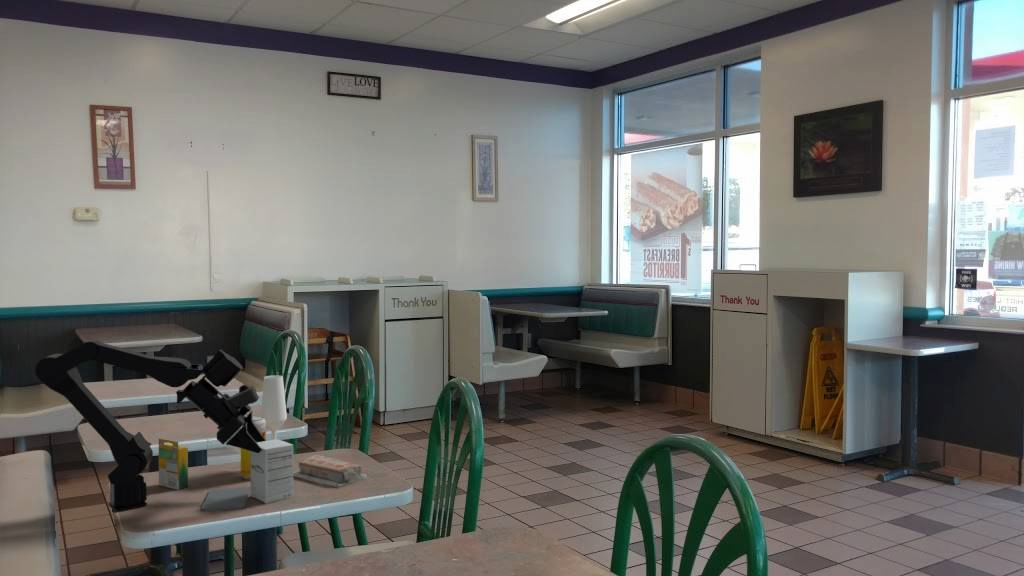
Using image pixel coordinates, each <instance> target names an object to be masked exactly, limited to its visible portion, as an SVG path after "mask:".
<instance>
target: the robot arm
mask: <svg viewBox="0 0 1024 576" xmlns="http://www.w3.org/2000/svg"><path fill="white" fill-rule="evenodd" d="M88 361H94V362H95V361H96V362H100V363H103V364H107V365H110V366H115V367H118V368H122V369H126V370H129V371H133V372H137V373H142V374H145V375H147V376H148V377H151V378H152V379H154V380H155V381H157V382H159V383H161V384H164V385H165V386H168V387H169V388H180V387H182V386H184V385H185V384H186V383H187V382H188V381H190V382H189V383H188V384H187V385H186V386H185V387H184V388H183V389H177V391H175V393H176V404H180V403H181V402H183V401H184V399H187V400H188V401H189V402H190V403H191V404H192V405H194V406H195V407H196V408H197V409H198V410H199V411H201V412H202V413H203V417H204V418H205V419H208V418H209V419H210V420H211V421H212V422H213V423H214V424H216V426H217V427H216V428H217V429H218V430H217V432H216V440H217V441H218V442H219V443H221V444H222V445H226V446H232V447H236V448H238V449H241V448H242V449H246V450H249V451H252V452H256V453H259V452H260V451H261V450H262V449H261V448H260V446H259V445H258V444H257V443H256V441H257V442H263V441H265V439H264V437H263V436H262V434H261V433H260V431H259V430H258V429H257V427H256V426H255V424H254V422H253V421H252V416H253V410H252V407H251V406H250V404H252V405H253V404H254V403H256V402H258V401H259V399H260V397H259V395H258V393H257V390H256V388H254V386H253V385H251V386H249V384H247V383H245V384H243V385H240V386H239V388H238V392H236V393H235V394H233V395H229V394H228V393H222V392H221V391H219V390H218V389H217V388H220V386H221V387H225V388H226V387H227V385H229V383H230V382H232V380H233V379H234V378H235V377H237V376H238V374H240V372H242V370H243V369H244V368H243V365H241V363H240V362H239V361H238V360H237V359H236V358H235V357H234V356H231V355H230V354H228V353H226V352H225V351H224V350H222V349H219V350H218V351H217V352H216V353H215V354H214V355H213V357H212V358H211V359H210V360H209V361H208V362H207V363H206V364H199V363H191V362H190V361H189V360H188V359H185V358H179V357H172V356H171V357H169V356H154V355H153V356H152V355H149V354H145V353H142V352H138V351H134V350H130V349H126V348H123V347H119V346H116V345H112V344H108V343H104V342H101V341H99V340H97V339H91V340H88V341H85V342H83V343H82V344H81V345H79V346H78V347H76V348H74V349H72V350H69V351H68V352H65V353H55V354H54V353H53V354H51V355H48V356H45V357H44V358H42V359H40V360H39V361H38V362H37V363H36V365H35V367H34V368H35V369H34V375H35V377H36V379H37V380H38V381H39V382H40V383H42V384H43V385H45V386H46V387H47V388H48V389H50V390H51V391H54V392H55V393H57V394H58V395H59V394H60V396H63V397H64V399H66V401H68V402H69V403H70V404H71V405H72V406H73V407H74V408H75V410H76V411H77V412H78V413H79V414H80V415H81V416H82V417H83V418H84V419H85V421H86V422H87V423H88V424H89V425H90V427H92V429H94V431H96V432H97V434H98V435H99V436H100V437H101V438H102V439H103V440H104V442H105V443H106V444H107V445H108V447H109V450H110V452H111V454H112V457H113V459H114V461H115V463H116V464H117V465H116V466H115V467H114V468H113V469H112V471H111V472H110V473H109V474H107V478H108V481H109V497H110V499H109V501H110V502H109V501H108V502H107V505H108V506H109V507H110V508H111V509H112V508H113V509H112V510H113V511H115V512H121V511H125V510H131V509H135V508H136V509H137V508H140V507H145V506H147V505H148V503H147V499H148V498H147V483H146V481H145V478H144V477H145V476H143V475H142V473H143V472H144V470H145V469H146V468H147V467H148V466H149V465H150V463H151V462H152V460H153V455H154V451H153V449H152V447H151V446H152V443H151V442H149V441H148V440H146V438H145V437H144V436H143V434H142V433H141V432H140V431H138V432H137V433H135V435H134V434H132V433H130V432H129V431H127V430H126V429H125V428H124V427H123V426H122V425H121V424H120V422H118V421H117V419H116V418H115V417H114V416H113V415H112V413H110V411H108V409H107V408H106V406H104V404H102V403H101V401H100V400H98V398H97V397H96V396H95V395H94V394H93V393H92V391H90V390H89V388H88V387H87V386H86V385H85V384H84V381H83V379H82V376H81V374H80V372H79V370H78V368H77V367H78V366H81V365H83V364H85V363H86V362H88ZM202 374H204V375H203V376H202V378H200V379H199V380H198V381H197V382H196V381H193V380H196V379H198V377H199V376H201V375H202ZM247 413H248V414H247Z"/></svg>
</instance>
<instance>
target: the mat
mask: <svg viewBox="0 0 1024 576" xmlns="http://www.w3.org/2000/svg"><path fill="white" fill-rule="evenodd" d="M250 493H251V486H246V487H245V486H244V487H224V488H211V489H209V491H208V493H207V495H206V497H205V500H204V502H203V504H202V506H201V507H200V511H201V512H202V511H204V512H205V511H220V510H231V509H232V510H233V509H234V510H235V509H245V506H246V503H247V500H248V497H249V494H250Z"/></svg>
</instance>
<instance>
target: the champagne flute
mask: <svg viewBox="0 0 1024 576" xmlns="http://www.w3.org/2000/svg"><path fill="white" fill-rule="evenodd" d="M284 386H285V383H284V377H283V375H279V374H278V375H275V374H274V375H266V376H263V386H262V396H261V400H262V401H261V406H260V407H261V408H260V416H262V417H264V419H265V421H266V429H268V430H270V431H271V440H274V439H277V431H278V430H279V429H280V428H281V427H282V426H283V425H284V424H285V423H286V420H287V419H288V416H287V407H286V396H285V387H284Z"/></svg>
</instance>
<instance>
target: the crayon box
mask: <svg viewBox="0 0 1024 576" xmlns="http://www.w3.org/2000/svg"><path fill="white" fill-rule="evenodd" d="M165 443H166V444H165ZM188 448H189V447H187V446H181V445H179V442H178V441H173V440H169V439H164V438H158V486H159V487H164V486H165V488H168V489H169V488H171V489H173V490H176V491H179V490H183V489H185V488H188V487H189V459H188V458H189V457H188V456H189V455H188V454H189V449H188Z"/></svg>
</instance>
